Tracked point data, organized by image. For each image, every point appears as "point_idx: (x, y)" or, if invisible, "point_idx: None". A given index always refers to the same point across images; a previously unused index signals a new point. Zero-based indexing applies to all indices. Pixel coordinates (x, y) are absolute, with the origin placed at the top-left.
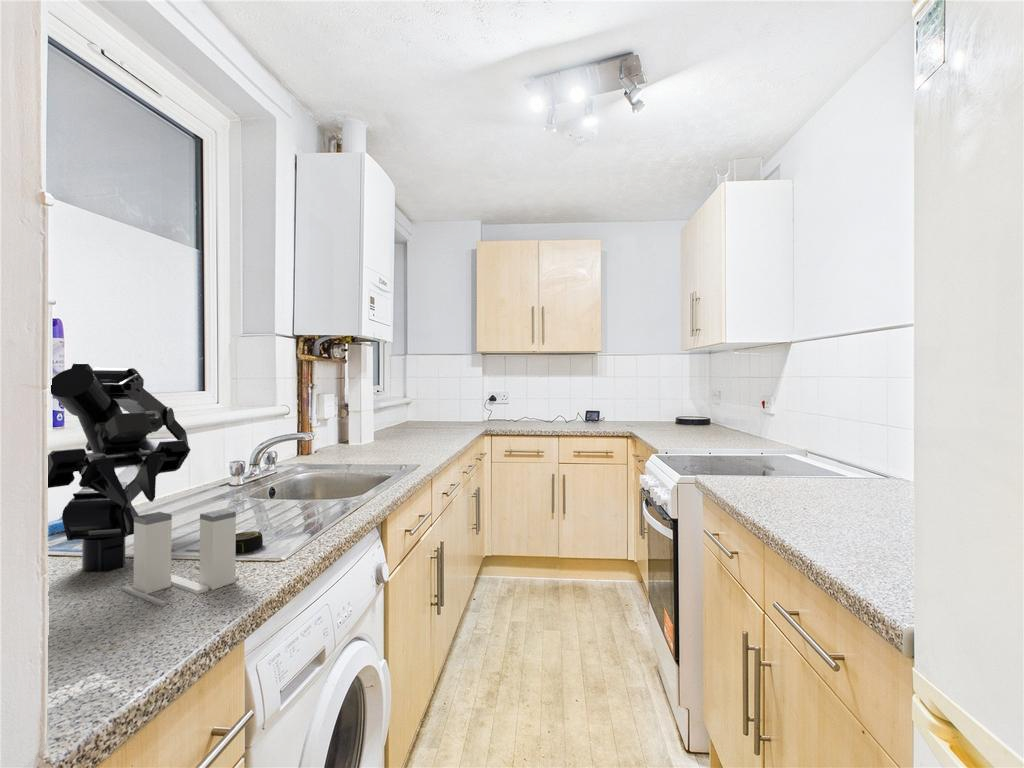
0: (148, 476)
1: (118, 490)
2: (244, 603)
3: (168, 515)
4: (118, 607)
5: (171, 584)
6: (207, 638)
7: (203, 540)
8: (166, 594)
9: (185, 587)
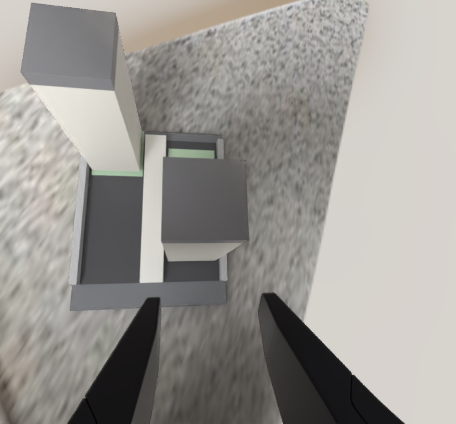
0: (129, 415)
1: (312, 340)
2: (135, 71)
3: (174, 157)
4: None
5: None
6: (226, 29)
7: (126, 110)
8: None
9: None
